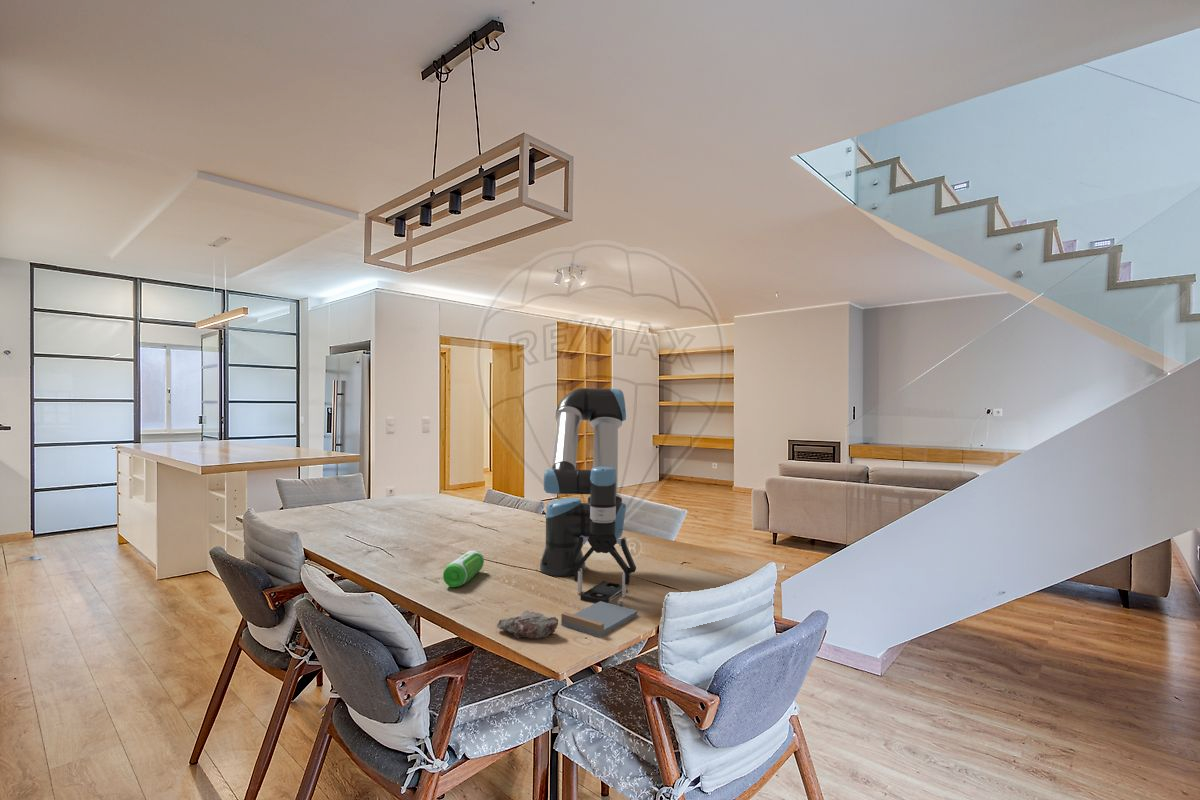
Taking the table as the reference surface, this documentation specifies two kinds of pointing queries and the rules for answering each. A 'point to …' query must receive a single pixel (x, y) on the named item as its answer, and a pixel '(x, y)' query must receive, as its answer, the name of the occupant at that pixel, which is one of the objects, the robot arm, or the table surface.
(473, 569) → the speaker
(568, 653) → the table surface
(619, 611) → the board
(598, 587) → the vhs tape
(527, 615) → the mineral rock
